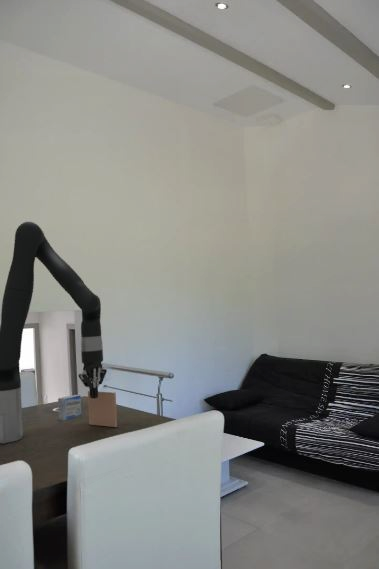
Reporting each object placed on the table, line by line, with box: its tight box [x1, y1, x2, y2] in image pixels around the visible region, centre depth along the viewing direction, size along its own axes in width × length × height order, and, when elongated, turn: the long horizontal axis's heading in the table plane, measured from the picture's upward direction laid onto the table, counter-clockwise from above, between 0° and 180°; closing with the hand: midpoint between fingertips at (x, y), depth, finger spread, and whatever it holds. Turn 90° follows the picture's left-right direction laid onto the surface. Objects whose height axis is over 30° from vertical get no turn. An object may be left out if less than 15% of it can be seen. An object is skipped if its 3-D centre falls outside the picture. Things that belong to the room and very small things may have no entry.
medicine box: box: [57, 394, 82, 421], centre depth 187 cm, size 8×4×9 cm, turn 143°
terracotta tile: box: [87, 390, 118, 428], centre depth 171 cm, size 1×12×12 cm, turn 61°
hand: (94, 398), depth 167 cm, fingers closed
